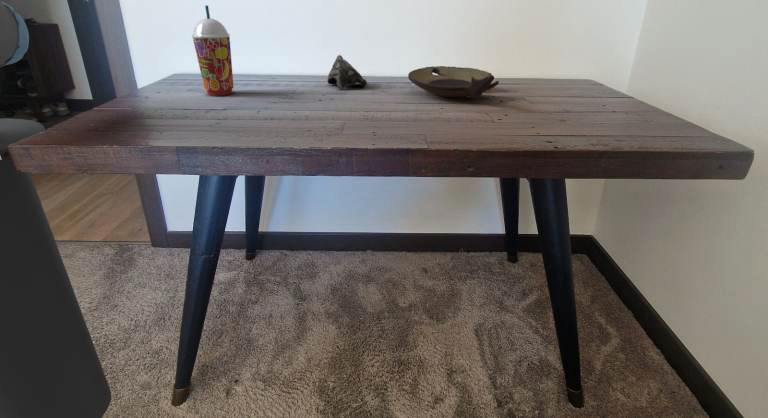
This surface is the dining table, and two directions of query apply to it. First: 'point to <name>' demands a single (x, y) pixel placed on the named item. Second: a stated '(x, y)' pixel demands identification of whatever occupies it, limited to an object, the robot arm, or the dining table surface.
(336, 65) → the fossil
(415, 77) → the broken bowl
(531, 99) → the dining table surface
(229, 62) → the smoothie
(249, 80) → the dining table surface
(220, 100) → the dining table surface
